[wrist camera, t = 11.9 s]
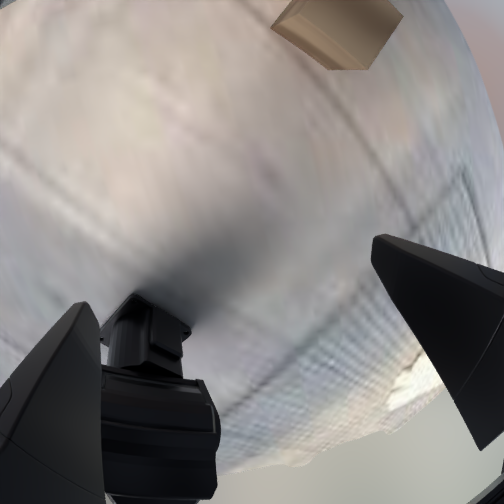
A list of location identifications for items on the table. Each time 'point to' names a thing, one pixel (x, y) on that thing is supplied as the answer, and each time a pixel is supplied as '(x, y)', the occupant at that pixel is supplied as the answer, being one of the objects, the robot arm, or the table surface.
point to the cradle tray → (5, 3)
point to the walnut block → (339, 30)
